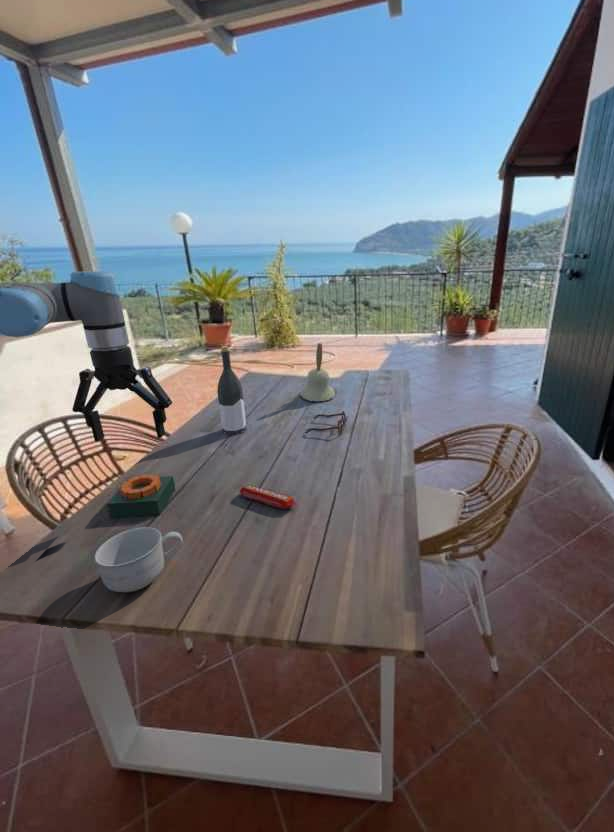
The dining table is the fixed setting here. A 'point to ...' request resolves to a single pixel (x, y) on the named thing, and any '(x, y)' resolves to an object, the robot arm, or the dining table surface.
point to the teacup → (134, 558)
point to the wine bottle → (230, 398)
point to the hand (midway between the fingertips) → (130, 437)
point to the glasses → (331, 427)
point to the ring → (138, 493)
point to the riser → (142, 501)
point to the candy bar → (267, 496)
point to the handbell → (317, 382)
